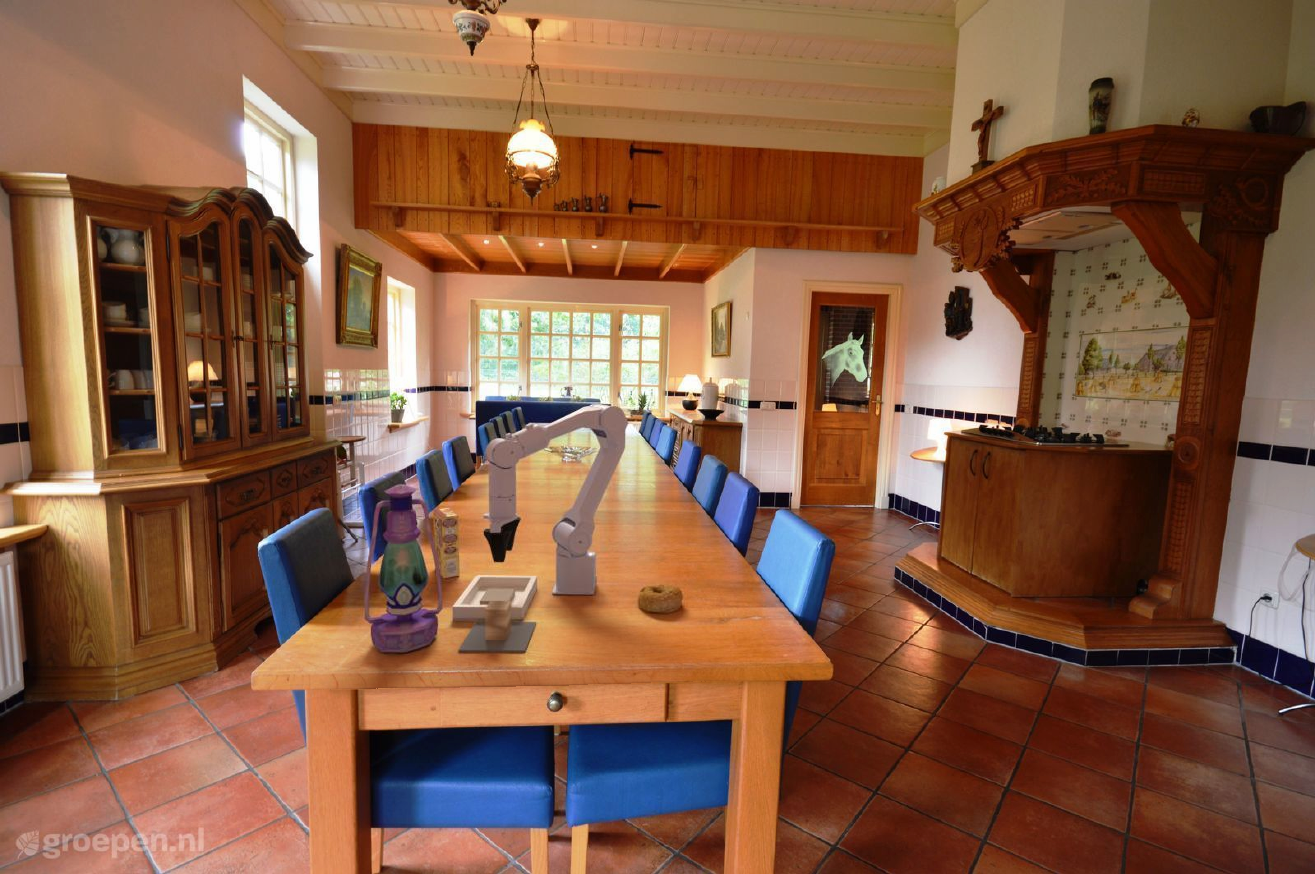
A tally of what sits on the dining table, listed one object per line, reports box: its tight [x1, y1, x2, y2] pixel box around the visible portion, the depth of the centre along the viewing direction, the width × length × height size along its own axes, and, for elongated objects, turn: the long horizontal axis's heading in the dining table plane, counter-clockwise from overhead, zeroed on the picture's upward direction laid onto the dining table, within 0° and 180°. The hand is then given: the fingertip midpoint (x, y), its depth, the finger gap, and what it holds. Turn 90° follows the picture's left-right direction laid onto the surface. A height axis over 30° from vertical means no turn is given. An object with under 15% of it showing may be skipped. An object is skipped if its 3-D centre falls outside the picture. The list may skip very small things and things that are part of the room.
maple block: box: [484, 601, 512, 640], centre depth 114 cm, size 4×4×6 cm
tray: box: [452, 574, 538, 622], centre depth 130 cm, size 14×18×3 cm
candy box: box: [432, 507, 461, 579], centre depth 147 cm, size 9×4×15 cm, turn 33°
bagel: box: [637, 583, 684, 614], centre depth 131 cm, size 10×11×5 cm
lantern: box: [363, 483, 443, 653], centre depth 110 cm, size 13×12×30 cm
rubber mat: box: [457, 621, 537, 654], centre depth 114 cm, size 12×12×1 cm
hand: (503, 555), depth 130 cm, fingers open, 7 cm apart
